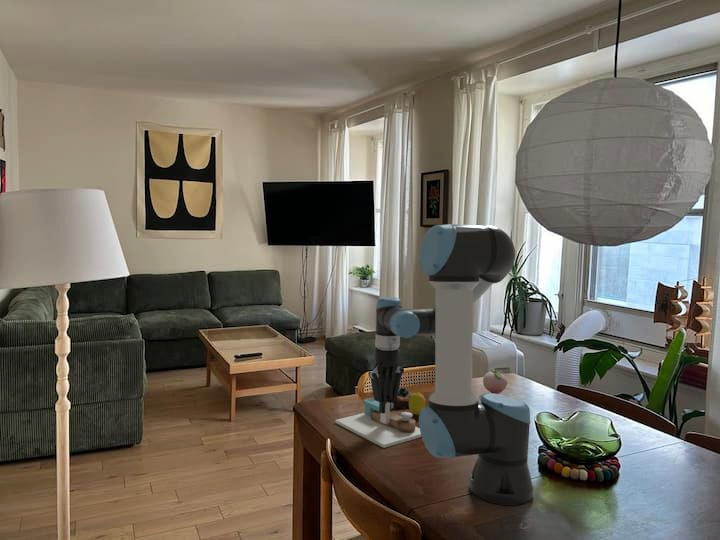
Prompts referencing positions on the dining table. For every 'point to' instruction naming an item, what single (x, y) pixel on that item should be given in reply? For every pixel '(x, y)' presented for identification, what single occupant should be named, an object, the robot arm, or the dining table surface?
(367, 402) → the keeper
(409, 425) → the walnut link
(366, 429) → the plate
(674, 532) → the dining table surface
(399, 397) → the pastry
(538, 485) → the dining table surface
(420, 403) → the lemon
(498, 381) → the decorative fruit
